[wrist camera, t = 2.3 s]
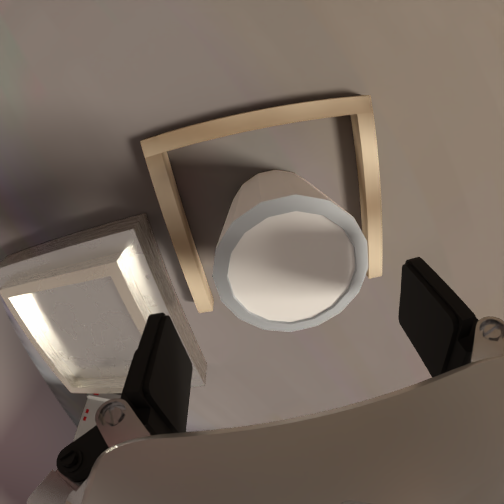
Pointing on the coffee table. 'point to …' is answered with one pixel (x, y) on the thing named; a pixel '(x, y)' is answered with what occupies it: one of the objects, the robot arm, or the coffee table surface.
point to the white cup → (288, 254)
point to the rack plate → (94, 302)
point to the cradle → (253, 120)
